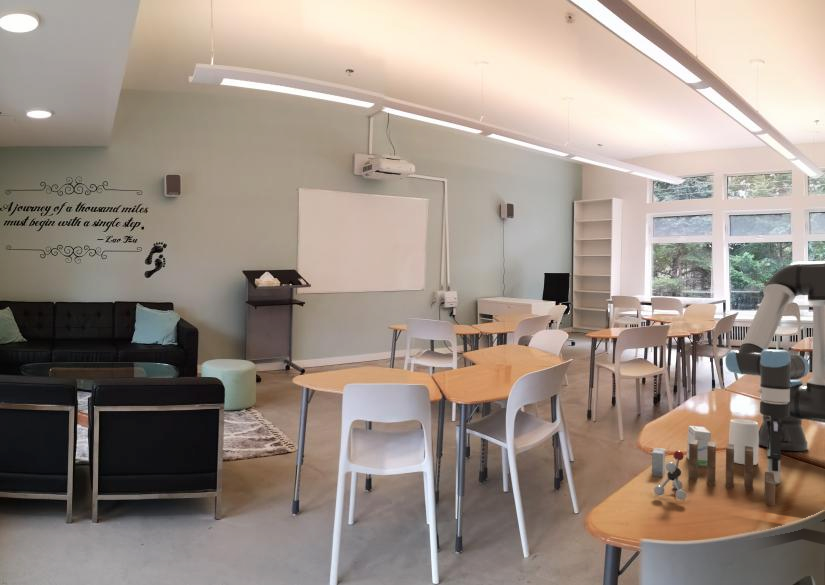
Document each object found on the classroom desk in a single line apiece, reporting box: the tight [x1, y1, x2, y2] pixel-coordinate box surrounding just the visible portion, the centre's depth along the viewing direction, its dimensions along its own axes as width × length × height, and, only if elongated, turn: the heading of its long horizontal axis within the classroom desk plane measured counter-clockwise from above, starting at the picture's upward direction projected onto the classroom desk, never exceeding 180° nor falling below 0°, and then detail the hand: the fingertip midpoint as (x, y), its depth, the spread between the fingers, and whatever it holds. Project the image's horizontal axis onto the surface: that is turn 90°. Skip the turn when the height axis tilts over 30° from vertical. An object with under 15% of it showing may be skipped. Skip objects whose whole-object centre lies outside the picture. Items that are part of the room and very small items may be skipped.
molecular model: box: [653, 450, 687, 501], centre depth 162 cm, size 8×12×11 cm
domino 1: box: [688, 439, 699, 483], centre depth 175 cm, size 2×6×11 cm, turn 151°
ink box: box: [686, 425, 712, 468], centre depth 189 cm, size 9×5×12 cm, turn 168°
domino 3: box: [725, 443, 735, 489], centre depth 170 cm, size 2×6×11 cm, turn 151°
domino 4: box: [743, 446, 754, 492], centre depth 168 cm, size 2×6×11 cm, turn 151°
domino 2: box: [706, 441, 717, 486], centre depth 172 cm, size 2×6×11 cm, turn 151°
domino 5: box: [764, 471, 776, 507], centre depth 158 cm, size 2×6×11 cm
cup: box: [728, 418, 760, 466], centre depth 190 cm, size 8×8×14 cm
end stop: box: [651, 446, 666, 478], centre depth 179 cm, size 3×7×7 cm, turn 151°
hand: (773, 476), depth 173 cm, fingers open, 10 cm apart
